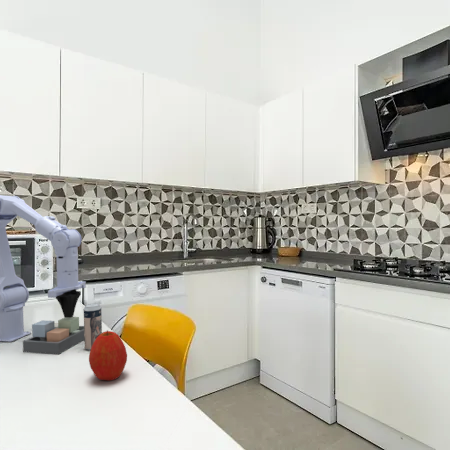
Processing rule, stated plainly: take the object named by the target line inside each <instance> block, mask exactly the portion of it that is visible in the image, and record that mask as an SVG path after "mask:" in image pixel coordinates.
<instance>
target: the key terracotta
mask: <svg viewBox="0 0 450 450" xmlns="http://www.w3.org/2000/svg"><path fill="white" fill-rule="evenodd" d="M67 337H69V329H64V328H56V329H53V330H51V331H49V332H47V342H59V341H61V340H63V339H65V338H67Z"/></svg>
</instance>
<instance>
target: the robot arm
mask: <svg viewBox="0 0 450 450" xmlns="http://www.w3.org/2000/svg"><path fill="white" fill-rule="evenodd" d="M17 216H18V217H19V218H21V219H24V220H25V222H28V223H30V224H32V225H33V226H34V229H35V231H36V232H37V233H38V234H39V235H41V236H42V237H44V238H45V239H47V240H49V242H50V244H51V246H52V247H53V249H54V254H55V257H56V286H55V287H54V288H51V289H49V290H47V298H50V299H55V300H57V302H58V303H59V305H60V308H61V310H62V311H61V312H62V313H63V318H71V317H74V316H75V315H74V314H75V310H76V307H77V302H78V301H79V298H80V297H81V295H82V291H79V290H80V289H85V288H86V287H87V286H86V282H87V281H85V280H84V281H83V280H81V281H79V255H78V254H79V253H78V252H79V250H78V247H80V246H81V244H82V239H83V238H82V235H81V233H80V232H79V231H78V230H77V229H74V228H70V229H69V228H68V226H67V225H66V224H62V223H60V222H59V221H57V220H56V217H55V216H54V215H51V216H49V215H45V216H43V215H42V214H40V213H39V212H37V211H36V210H35V209H33V207H31V206H30V205H28V204H27V203H26V201H25V199H22V198H20V197H19V196H18V195H1V194H0V342H5V343H6V342H7V343H8V342H9V343H10V342H14V341H16V340H18V339H21V338H23V337H26V336H28V335H30V334H32V332H31V331H25V327H24V307H26V303H27V301H29V298H30V297H29V296H30V292H29V289H28V288H27V286H26V285H25V282H24V279H23V278H21V277H19V276H18V275H16V271H15V265H14V262H13V261H14V260H13V256H12V252H11V251H12V250H11V249H10V243H9V239H8V234H7V230H6V227H7V225H8V224H10V223H11V222H12V221H13V220H15V219H16V218H17Z"/></svg>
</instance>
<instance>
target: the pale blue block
mask: <svg viewBox="0 0 450 450" xmlns="http://www.w3.org/2000/svg"><path fill="white" fill-rule="evenodd" d="M55 323H56V322H55V320H39V321H38V322H37V321H36V322H35V323H32V324H31V327H32V328H31V331H32V332H31V337H47V332H49V331H51V330H53V329H55Z"/></svg>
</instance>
